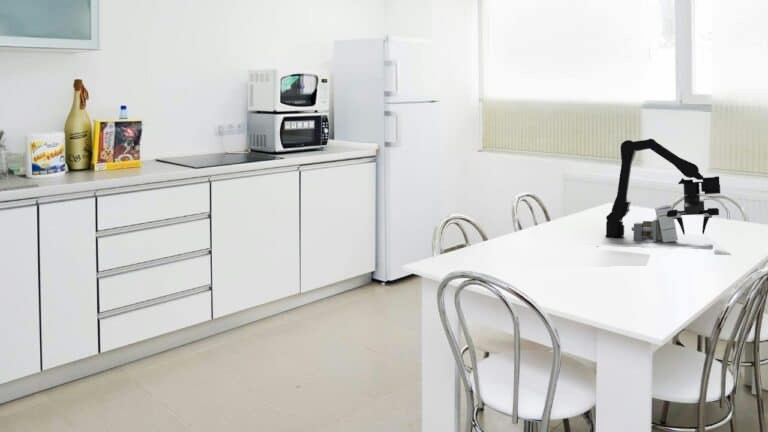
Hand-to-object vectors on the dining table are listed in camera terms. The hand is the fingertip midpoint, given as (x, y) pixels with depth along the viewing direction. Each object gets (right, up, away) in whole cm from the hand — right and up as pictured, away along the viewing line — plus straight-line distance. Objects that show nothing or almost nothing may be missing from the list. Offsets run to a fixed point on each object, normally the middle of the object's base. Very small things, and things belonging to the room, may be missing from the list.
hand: (693, 234), depth 265 cm
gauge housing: (-14, -3, +9) cm, 17 cm away
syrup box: (-8, -3, +4) cm, 9 cm away
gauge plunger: (-15, -3, +10) cm, 19 cm away
